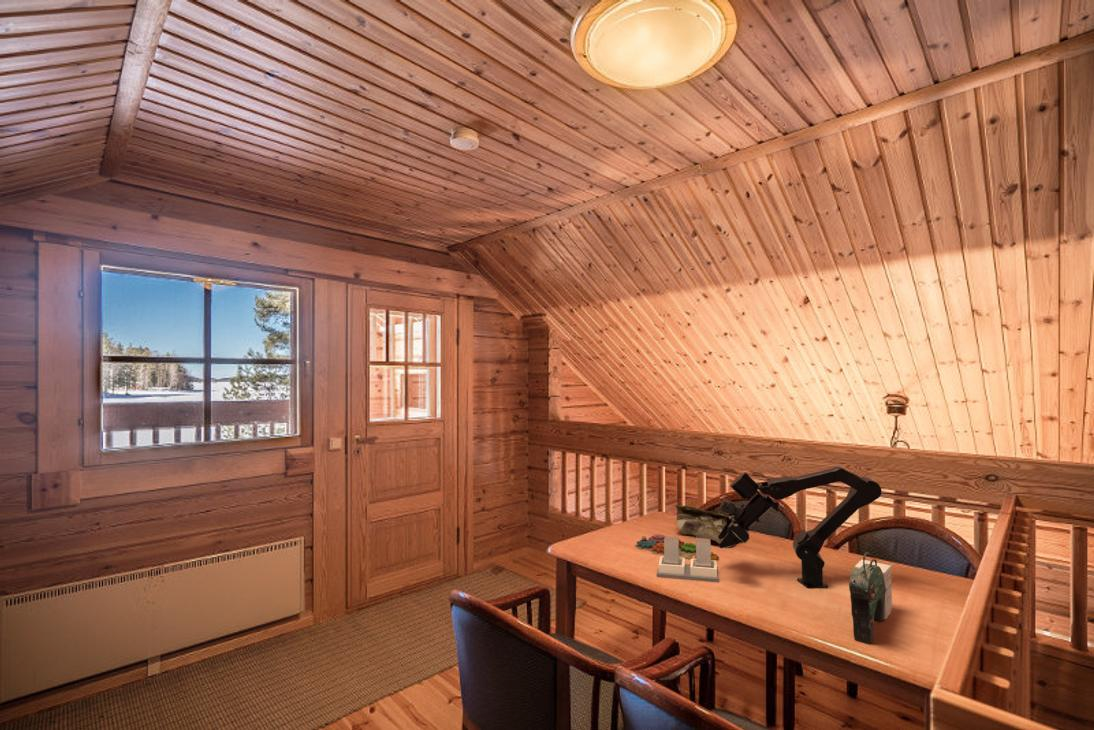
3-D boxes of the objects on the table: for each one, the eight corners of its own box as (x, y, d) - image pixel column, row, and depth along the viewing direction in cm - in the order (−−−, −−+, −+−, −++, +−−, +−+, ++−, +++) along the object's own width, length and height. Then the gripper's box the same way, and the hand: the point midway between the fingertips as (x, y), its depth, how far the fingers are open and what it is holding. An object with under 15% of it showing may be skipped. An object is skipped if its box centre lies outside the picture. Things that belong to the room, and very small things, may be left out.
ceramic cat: (873, 649, 126) (871, 564, 126) (843, 640, 130) (840, 558, 130) (891, 618, 140) (889, 542, 140) (863, 611, 145) (861, 537, 145)
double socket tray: (718, 569, 178) (717, 559, 178) (718, 582, 167) (718, 571, 167) (659, 564, 183) (659, 554, 183) (656, 576, 173) (656, 565, 173)
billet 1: (679, 567, 178) (678, 536, 178) (678, 571, 174) (678, 541, 174) (665, 565, 179) (665, 535, 179) (664, 570, 175) (664, 540, 175)
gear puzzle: (728, 558, 190) (727, 546, 190) (702, 570, 179) (702, 558, 179) (657, 539, 213) (656, 528, 213) (630, 548, 203) (630, 537, 203)
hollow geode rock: (676, 543, 221) (658, 521, 215) (690, 517, 226) (672, 495, 221) (736, 559, 198) (717, 535, 192) (749, 530, 204) (731, 506, 198)
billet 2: (710, 569, 175) (710, 538, 175) (711, 574, 171) (710, 543, 171) (696, 568, 176) (695, 538, 177) (696, 573, 172) (695, 542, 172)
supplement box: (854, 612, 145) (853, 565, 145) (862, 603, 150) (861, 558, 150) (886, 620, 140) (884, 572, 140) (893, 611, 145) (891, 564, 145)
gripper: (733, 484, 180) (700, 516, 183) (736, 497, 162) (699, 532, 165) (759, 509, 178) (725, 540, 181) (765, 525, 160) (727, 559, 163)
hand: (719, 542), depth 172 cm, fingers open, 9 cm apart
